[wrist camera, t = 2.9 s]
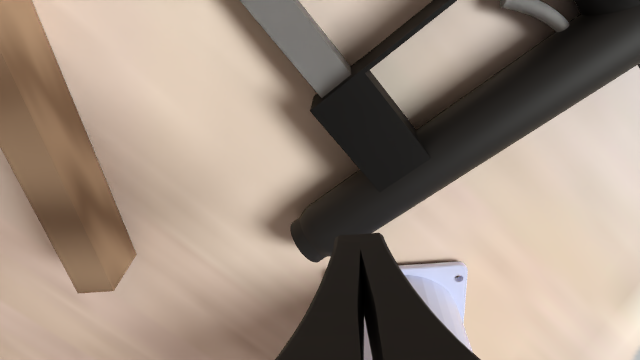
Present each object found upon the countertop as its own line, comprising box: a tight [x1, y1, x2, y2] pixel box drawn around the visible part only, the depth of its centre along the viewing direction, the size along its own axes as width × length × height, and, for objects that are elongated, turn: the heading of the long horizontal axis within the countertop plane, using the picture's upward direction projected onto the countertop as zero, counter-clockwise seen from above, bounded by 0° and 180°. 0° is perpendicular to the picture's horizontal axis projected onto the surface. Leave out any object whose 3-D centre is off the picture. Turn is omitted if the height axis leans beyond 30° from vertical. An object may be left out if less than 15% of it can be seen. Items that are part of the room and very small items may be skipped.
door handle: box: [240, 0, 640, 262], centre depth 18 cm, size 3×20×16 cm
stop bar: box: [0, 0, 136, 293], centre depth 18 cm, size 22×2×3 cm, turn 6°
